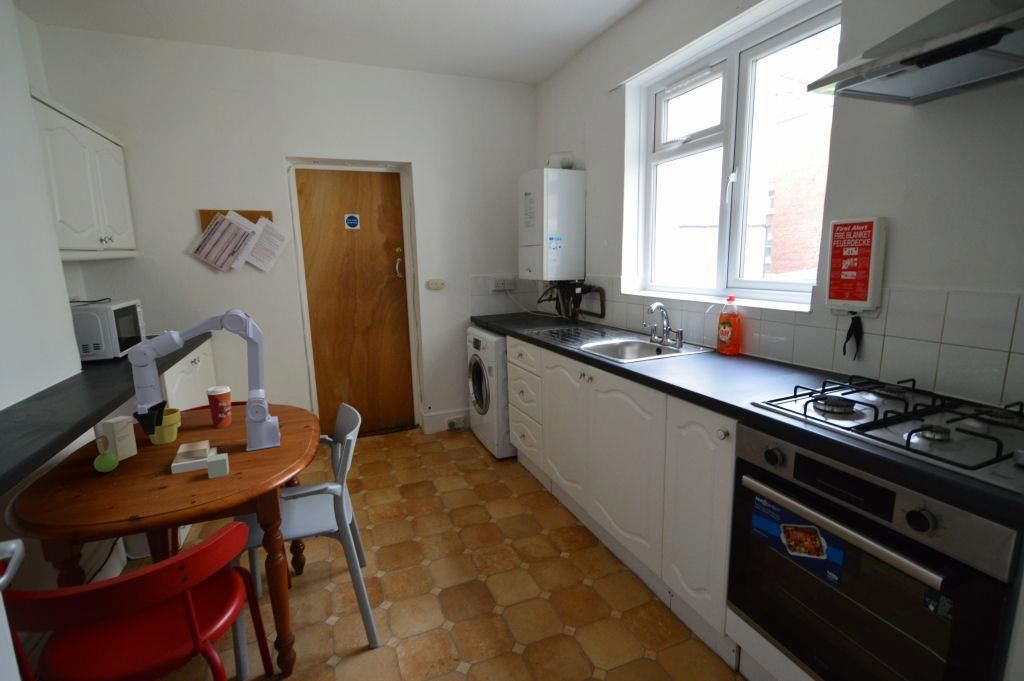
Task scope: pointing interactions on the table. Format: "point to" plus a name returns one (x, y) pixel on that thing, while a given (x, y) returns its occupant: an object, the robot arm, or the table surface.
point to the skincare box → (120, 436)
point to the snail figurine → (105, 456)
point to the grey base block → (191, 463)
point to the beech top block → (193, 451)
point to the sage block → (218, 465)
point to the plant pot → (167, 427)
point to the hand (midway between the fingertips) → (154, 430)
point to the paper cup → (220, 406)
